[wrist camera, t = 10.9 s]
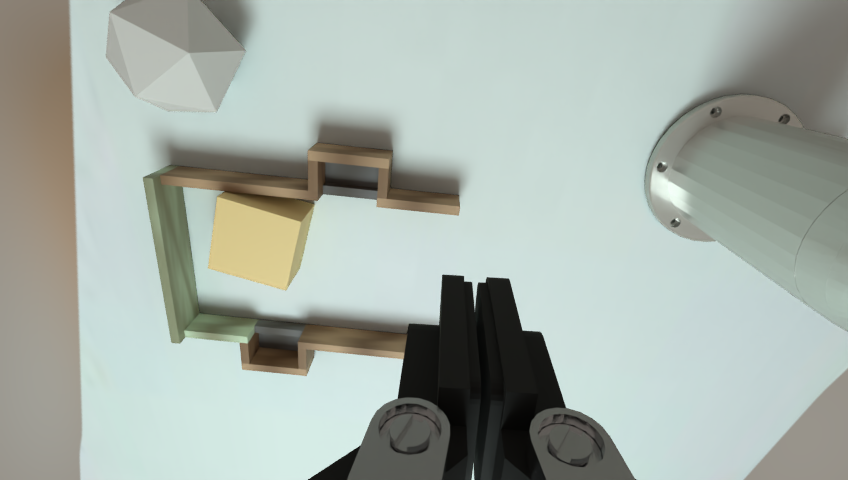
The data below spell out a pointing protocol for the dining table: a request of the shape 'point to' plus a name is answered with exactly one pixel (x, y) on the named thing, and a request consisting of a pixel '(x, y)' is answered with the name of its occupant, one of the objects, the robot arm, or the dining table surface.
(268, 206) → the block
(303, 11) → the dining table surface
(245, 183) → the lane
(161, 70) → the die
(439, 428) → the robot arm
